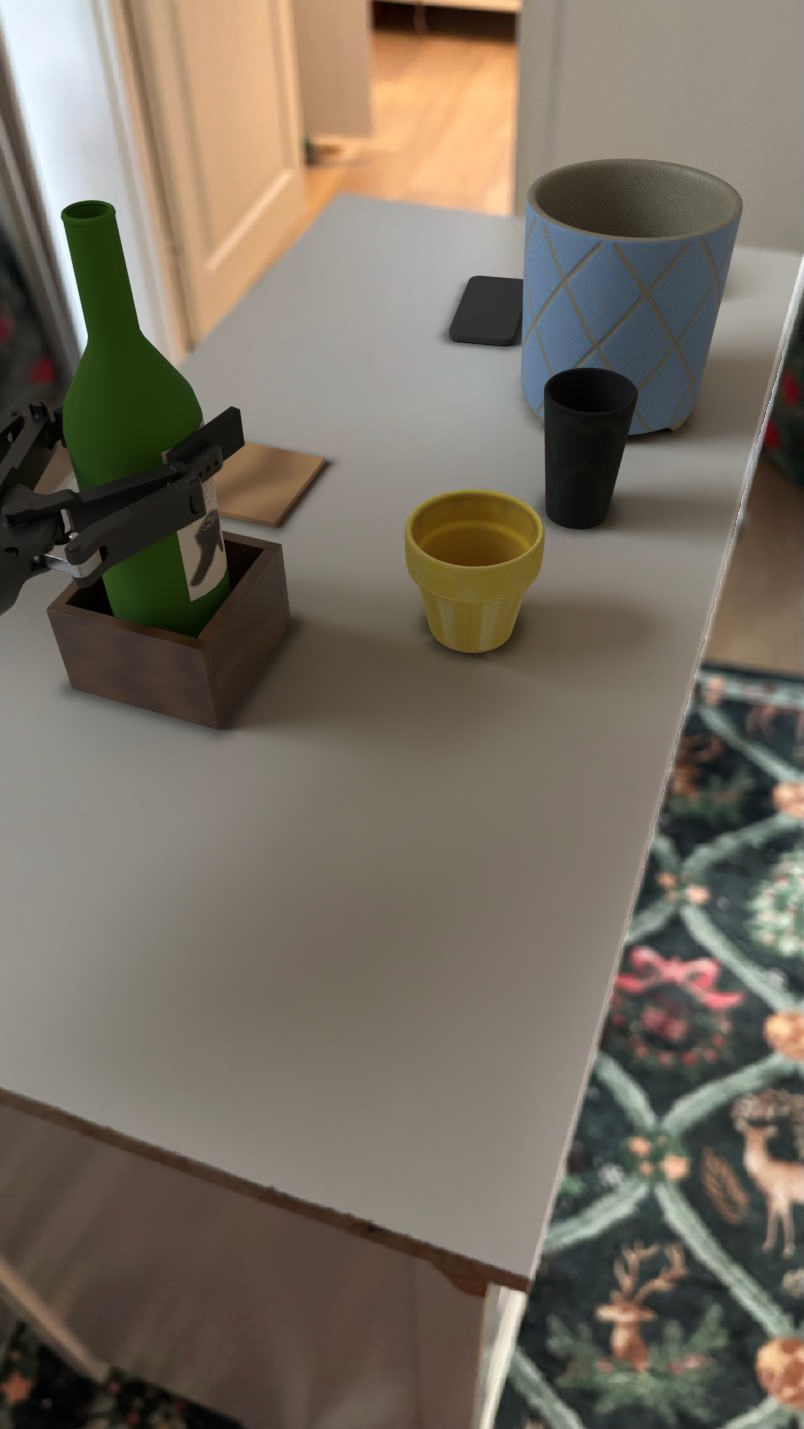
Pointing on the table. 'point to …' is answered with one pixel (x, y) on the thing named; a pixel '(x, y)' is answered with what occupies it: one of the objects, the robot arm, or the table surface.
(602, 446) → the cup
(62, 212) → the wine bottle
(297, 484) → the cork mat
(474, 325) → the phone
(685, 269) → the planter
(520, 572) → the flower pot
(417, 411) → the table surface
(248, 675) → the holder
